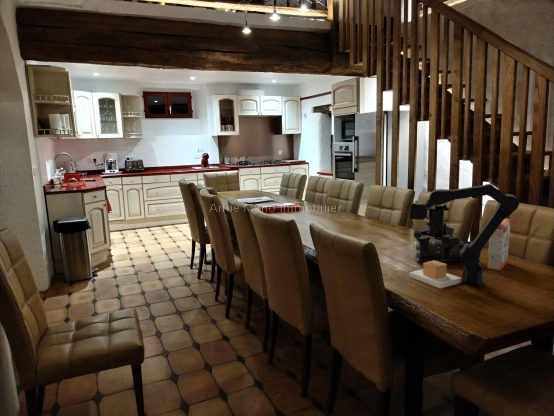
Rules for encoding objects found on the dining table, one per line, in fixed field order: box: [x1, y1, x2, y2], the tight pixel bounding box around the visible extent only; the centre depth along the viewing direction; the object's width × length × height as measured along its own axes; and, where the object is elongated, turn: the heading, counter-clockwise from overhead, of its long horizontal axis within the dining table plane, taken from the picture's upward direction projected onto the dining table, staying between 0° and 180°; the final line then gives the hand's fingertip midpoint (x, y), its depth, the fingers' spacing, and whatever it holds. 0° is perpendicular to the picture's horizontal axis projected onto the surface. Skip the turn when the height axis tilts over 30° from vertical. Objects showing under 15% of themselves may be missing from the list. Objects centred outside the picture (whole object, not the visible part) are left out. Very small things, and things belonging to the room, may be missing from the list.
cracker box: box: [486, 218, 512, 271], centre depth 174 cm, size 14×6×21 cm, turn 139°
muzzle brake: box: [413, 240, 481, 263], centre depth 184 cm, size 10×28×10 cm, turn 79°
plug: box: [422, 260, 448, 279], centre depth 162 cm, size 6×6×7 cm
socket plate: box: [409, 268, 462, 289], centre depth 162 cm, size 16×12×2 cm
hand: (435, 257), depth 161 cm, fingers open, 9 cm apart
